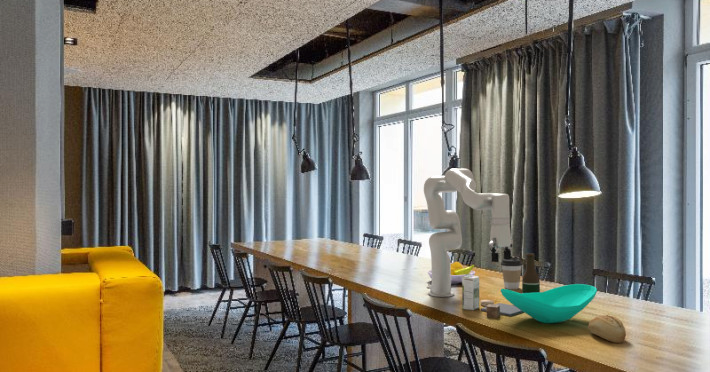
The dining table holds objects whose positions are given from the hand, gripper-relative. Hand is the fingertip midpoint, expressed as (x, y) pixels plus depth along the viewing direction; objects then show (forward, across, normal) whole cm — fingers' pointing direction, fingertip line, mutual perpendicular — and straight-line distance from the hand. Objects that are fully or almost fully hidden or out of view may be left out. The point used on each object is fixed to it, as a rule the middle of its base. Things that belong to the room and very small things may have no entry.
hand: (501, 260), depth 245 cm
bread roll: (+22, +12, +51) cm, 57 cm away
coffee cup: (+22, -48, -24) cm, 58 cm away
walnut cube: (+22, +12, +3) cm, 25 cm away
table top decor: (+22, +4, +24) cm, 33 cm away
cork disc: (+22, -5, -11) cm, 25 cm away
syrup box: (+22, +6, -12) cm, 26 cm away
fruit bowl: (+22, -41, -58) cm, 75 cm away
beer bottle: (+22, -16, +5) cm, 28 cm away
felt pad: (+22, 0, +1) cm, 22 cm away
